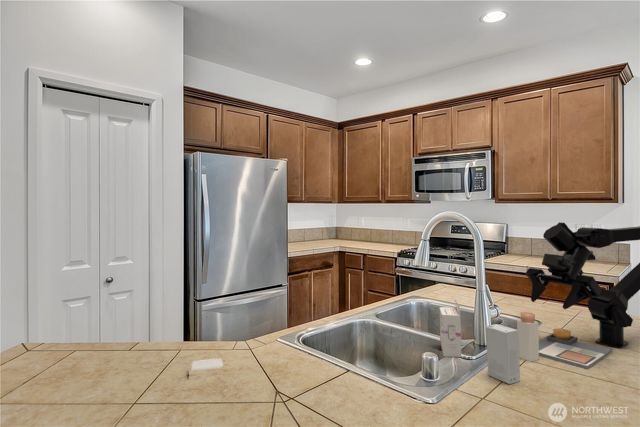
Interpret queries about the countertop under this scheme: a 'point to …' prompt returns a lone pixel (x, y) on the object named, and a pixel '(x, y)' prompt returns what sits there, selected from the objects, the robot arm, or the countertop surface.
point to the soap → (206, 364)
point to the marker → (528, 337)
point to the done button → (562, 333)
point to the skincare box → (503, 353)
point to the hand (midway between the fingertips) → (547, 304)
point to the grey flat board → (572, 351)
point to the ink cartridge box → (450, 331)
